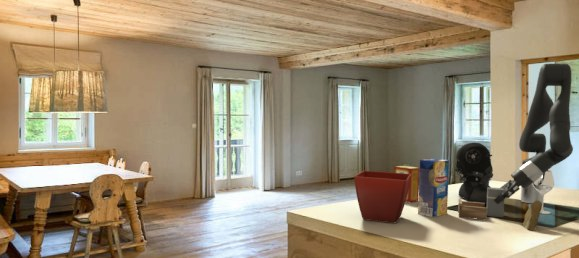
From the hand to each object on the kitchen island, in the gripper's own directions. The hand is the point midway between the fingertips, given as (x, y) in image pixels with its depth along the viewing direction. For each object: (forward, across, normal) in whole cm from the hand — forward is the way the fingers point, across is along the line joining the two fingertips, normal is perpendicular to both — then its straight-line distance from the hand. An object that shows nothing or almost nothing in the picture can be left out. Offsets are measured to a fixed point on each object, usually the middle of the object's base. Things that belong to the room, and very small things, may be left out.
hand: (494, 200), depth 182 cm
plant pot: (+34, +27, -25) cm, 50 cm away
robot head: (+8, -35, 0) cm, 36 cm away
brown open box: (+10, +5, -2) cm, 12 cm away
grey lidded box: (+4, 0, +4) cm, 6 cm away
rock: (-3, +17, +12) cm, 21 cm away
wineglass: (-10, -16, +19) cm, 27 cm away
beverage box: (+21, +9, -12) cm, 26 cm away
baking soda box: (+30, -18, -22) cm, 41 cm away
